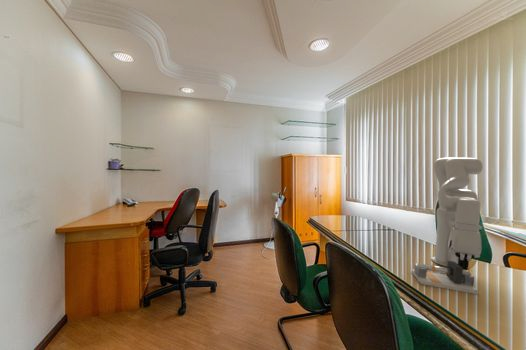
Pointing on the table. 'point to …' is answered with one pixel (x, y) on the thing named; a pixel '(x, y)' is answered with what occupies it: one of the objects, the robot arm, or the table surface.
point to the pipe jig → (443, 278)
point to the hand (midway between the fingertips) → (462, 268)
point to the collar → (455, 272)
